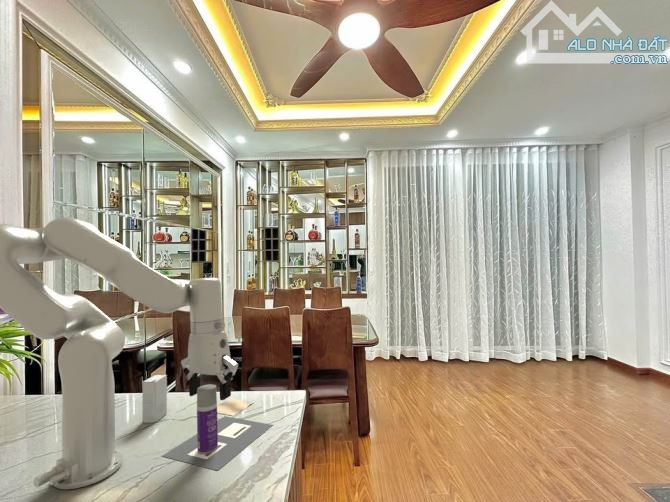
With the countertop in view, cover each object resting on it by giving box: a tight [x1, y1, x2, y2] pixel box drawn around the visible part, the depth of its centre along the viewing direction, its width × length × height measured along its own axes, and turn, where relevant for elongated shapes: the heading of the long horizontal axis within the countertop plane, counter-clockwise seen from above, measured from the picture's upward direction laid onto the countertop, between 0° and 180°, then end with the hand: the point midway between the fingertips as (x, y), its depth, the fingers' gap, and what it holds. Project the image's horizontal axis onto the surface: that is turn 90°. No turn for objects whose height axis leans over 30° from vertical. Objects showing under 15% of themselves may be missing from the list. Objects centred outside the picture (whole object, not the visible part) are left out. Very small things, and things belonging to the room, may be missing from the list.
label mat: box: [162, 415, 273, 472], centre depth 86 cm, size 22×17×1 cm
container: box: [196, 383, 218, 454], centre depth 82 cm, size 5×5×15 cm
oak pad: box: [217, 398, 251, 417], centre depth 106 cm, size 10×10×1 cm
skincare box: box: [141, 374, 168, 424], centre depth 100 cm, size 6×4×12 cm
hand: (210, 396), depth 83 cm, fingers open, 9 cm apart
